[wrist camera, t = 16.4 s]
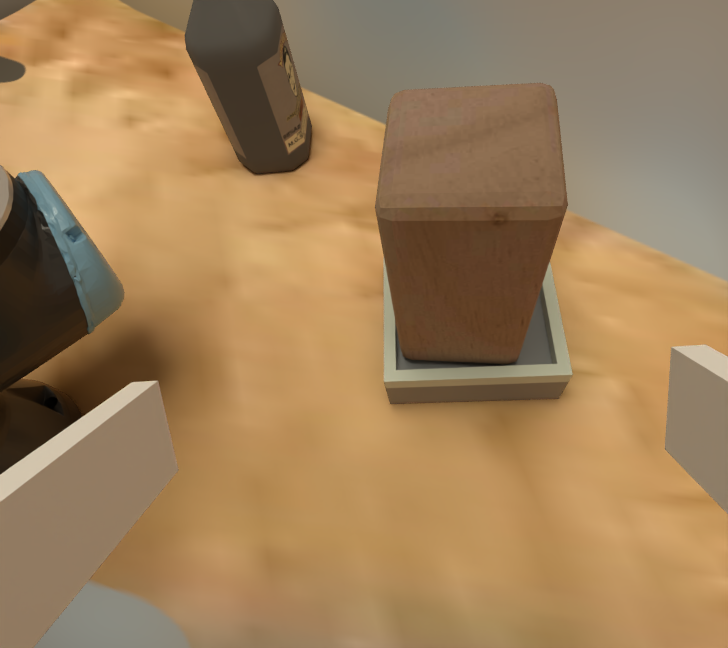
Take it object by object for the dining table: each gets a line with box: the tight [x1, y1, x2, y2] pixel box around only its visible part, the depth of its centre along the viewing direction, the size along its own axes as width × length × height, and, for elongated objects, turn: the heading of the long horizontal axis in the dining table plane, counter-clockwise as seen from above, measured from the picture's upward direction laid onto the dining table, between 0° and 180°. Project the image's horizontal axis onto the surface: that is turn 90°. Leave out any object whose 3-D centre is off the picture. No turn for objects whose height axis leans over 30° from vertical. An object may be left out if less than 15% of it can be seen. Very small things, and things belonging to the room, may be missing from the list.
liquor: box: [185, 0, 312, 174], centre depth 51 cm, size 9×9×30 cm
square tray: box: [384, 260, 573, 404], centre depth 46 cm, size 15×15×6 cm
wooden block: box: [375, 83, 568, 364], centre depth 36 cm, size 10×10×20 cm
